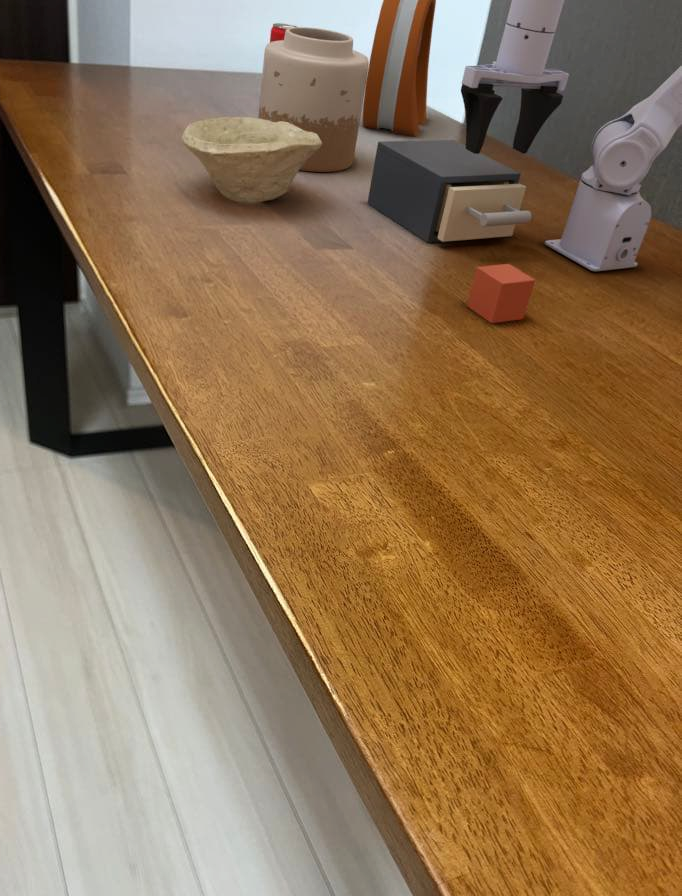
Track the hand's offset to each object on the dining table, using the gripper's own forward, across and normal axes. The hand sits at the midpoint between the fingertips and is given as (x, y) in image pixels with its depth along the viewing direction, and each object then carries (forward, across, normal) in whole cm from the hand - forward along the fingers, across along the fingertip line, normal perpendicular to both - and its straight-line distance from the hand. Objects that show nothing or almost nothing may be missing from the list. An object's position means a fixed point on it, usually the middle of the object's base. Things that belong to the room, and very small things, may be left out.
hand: (496, 151), depth 107 cm
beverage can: (+11, -4, -67) cm, 68 cm away
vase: (+11, +8, -33) cm, 36 cm away
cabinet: (+10, +3, -5) cm, 12 cm away
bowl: (+11, +25, -18) cm, 33 cm away
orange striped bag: (+11, -21, -52) cm, 57 cm away
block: (+10, +14, +22) cm, 28 cm away
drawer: (+9, +3, 0) cm, 10 cm away
